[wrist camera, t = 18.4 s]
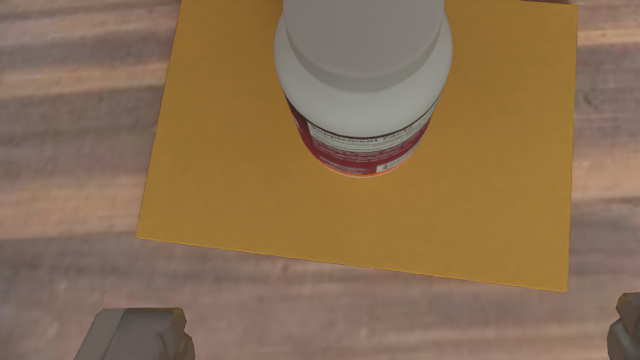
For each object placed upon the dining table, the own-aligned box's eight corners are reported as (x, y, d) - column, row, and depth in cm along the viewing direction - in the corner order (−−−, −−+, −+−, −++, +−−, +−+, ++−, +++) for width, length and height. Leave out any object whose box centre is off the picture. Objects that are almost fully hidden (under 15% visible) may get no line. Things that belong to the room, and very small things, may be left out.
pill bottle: (313, 48, 27) (284, -111, 17) (436, 71, 27) (490, -80, 16) (284, 167, 26) (233, 77, 15) (412, 194, 25) (452, 120, 15)
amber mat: (141, 239, 27) (134, 237, 26) (191, -19, 29) (186, -27, 29) (561, 292, 25) (567, 292, 24) (572, 12, 28) (578, 4, 27)
